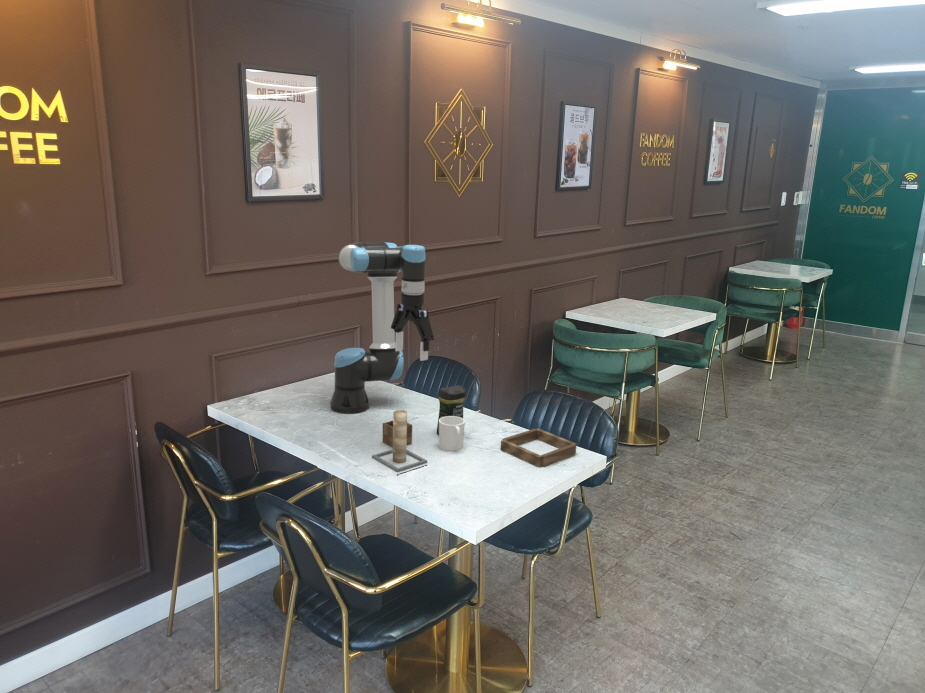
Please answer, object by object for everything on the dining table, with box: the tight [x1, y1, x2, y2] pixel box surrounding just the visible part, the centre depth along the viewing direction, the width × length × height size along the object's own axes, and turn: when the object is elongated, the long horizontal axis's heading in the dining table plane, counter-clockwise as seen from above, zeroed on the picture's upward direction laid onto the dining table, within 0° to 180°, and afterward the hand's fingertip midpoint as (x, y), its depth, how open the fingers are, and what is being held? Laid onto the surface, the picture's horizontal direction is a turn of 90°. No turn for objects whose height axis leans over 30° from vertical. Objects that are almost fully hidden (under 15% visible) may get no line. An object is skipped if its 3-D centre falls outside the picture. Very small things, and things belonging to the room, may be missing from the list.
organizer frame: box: [500, 427, 577, 468], centre depth 244 cm, size 19×19×4 cm
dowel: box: [392, 409, 408, 464], centre depth 228 cm, size 4×4×17 cm
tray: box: [371, 448, 428, 476], centre depth 230 cm, size 14×12×2 cm
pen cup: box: [382, 420, 413, 449], centre depth 243 cm, size 7×7×8 cm
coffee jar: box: [436, 384, 467, 436], centre depth 253 cm, size 10×8×19 cm
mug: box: [438, 416, 466, 452], centre depth 241 cm, size 11×9×10 cm
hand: (411, 355), depth 237 cm, fingers open, 13 cm apart
